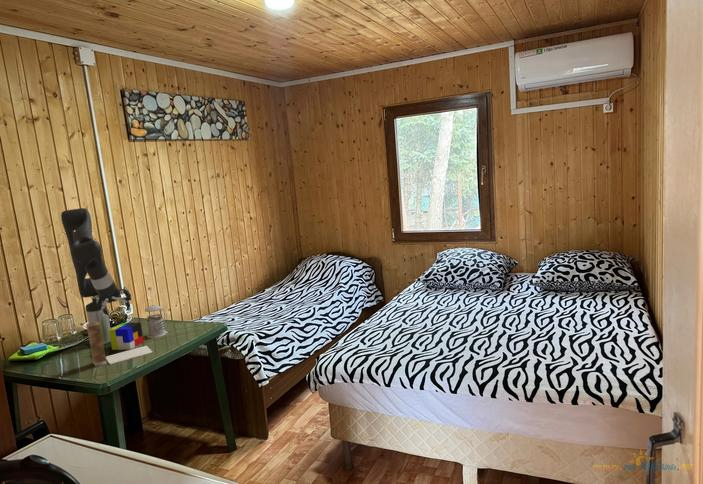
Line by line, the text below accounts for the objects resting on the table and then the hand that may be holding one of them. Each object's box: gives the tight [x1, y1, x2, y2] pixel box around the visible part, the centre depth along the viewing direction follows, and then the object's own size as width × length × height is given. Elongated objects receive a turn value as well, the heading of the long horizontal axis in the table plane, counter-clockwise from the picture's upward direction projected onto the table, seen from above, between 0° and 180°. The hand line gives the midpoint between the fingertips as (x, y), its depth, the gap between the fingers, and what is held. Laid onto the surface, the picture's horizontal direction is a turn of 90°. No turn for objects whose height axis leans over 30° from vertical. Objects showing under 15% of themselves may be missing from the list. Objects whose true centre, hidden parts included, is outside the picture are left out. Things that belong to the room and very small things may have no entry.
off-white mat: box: [105, 345, 153, 366], centre depth 219 cm, size 18×12×1 cm, turn 126°
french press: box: [144, 286, 168, 339], centre depth 245 cm, size 10×12×25 cm
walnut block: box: [86, 321, 108, 368], centre depth 211 cm, size 4×6×18 cm
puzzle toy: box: [109, 321, 145, 351], centre depth 232 cm, size 10×10×10 cm
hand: (118, 310), depth 208 cm, fingers open, 8 cm apart
